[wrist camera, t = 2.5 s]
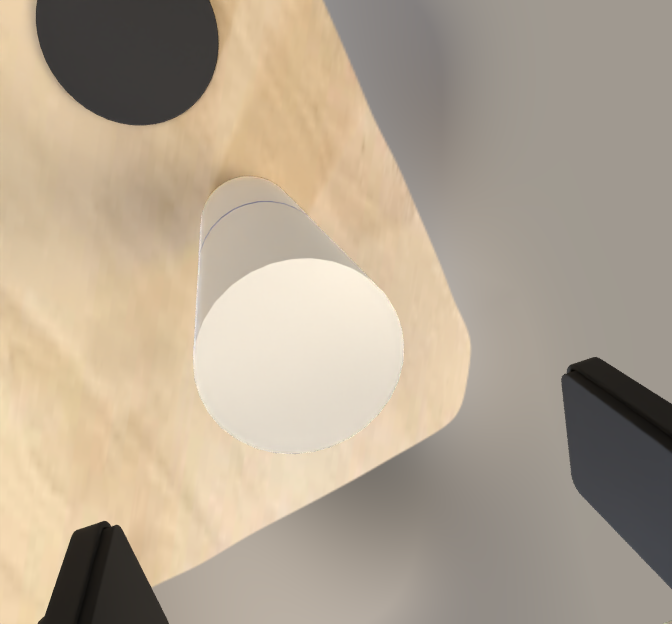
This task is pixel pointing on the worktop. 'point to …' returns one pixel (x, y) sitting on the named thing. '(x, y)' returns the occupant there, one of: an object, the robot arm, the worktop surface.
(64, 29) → the coaster
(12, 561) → the worktop surface
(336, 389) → the cylindrical container
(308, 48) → the worktop surface
